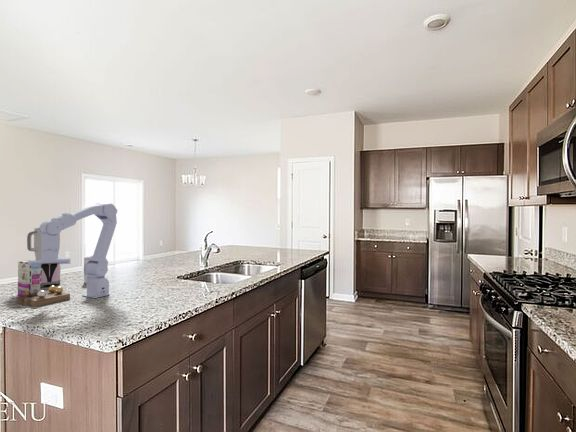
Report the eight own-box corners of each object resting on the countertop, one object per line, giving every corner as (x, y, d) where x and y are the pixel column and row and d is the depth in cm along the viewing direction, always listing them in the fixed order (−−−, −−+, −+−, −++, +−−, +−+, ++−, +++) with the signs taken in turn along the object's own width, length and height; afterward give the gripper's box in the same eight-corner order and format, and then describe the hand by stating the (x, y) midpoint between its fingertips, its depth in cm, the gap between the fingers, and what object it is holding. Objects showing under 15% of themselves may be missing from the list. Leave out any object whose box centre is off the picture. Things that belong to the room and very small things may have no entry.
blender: (51, 281, 186) (52, 224, 186) (65, 284, 181) (66, 225, 181) (19, 287, 171) (20, 225, 171) (34, 289, 167) (34, 226, 166)
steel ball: (48, 297, 143) (48, 289, 143) (39, 299, 140) (39, 291, 140) (43, 296, 144) (43, 289, 144) (35, 298, 141) (35, 290, 141)
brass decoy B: (58, 292, 152) (58, 285, 152) (50, 293, 149) (50, 286, 149) (54, 291, 154) (54, 284, 154) (46, 292, 151) (46, 285, 151)
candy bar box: (42, 297, 153) (42, 261, 153) (29, 299, 148) (30, 262, 148) (29, 294, 158) (29, 259, 158) (16, 296, 154) (17, 260, 154)
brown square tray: (69, 299, 150) (70, 293, 150) (34, 306, 137) (34, 300, 137) (51, 295, 156) (51, 290, 156) (15, 302, 143) (15, 296, 143)
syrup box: (93, 283, 184) (94, 257, 184) (83, 283, 184) (83, 257, 184) (99, 281, 190) (100, 255, 190) (89, 281, 190) (90, 255, 190)
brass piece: (64, 293, 150) (64, 286, 150) (57, 295, 147) (57, 287, 147) (60, 292, 151) (60, 285, 151) (53, 294, 149) (53, 287, 149)
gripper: (70, 247, 147) (70, 278, 147) (29, 249, 139) (28, 281, 139) (70, 249, 141) (69, 281, 141) (27, 251, 133) (26, 284, 133)
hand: (49, 281), depth 140 cm, fingers closed
